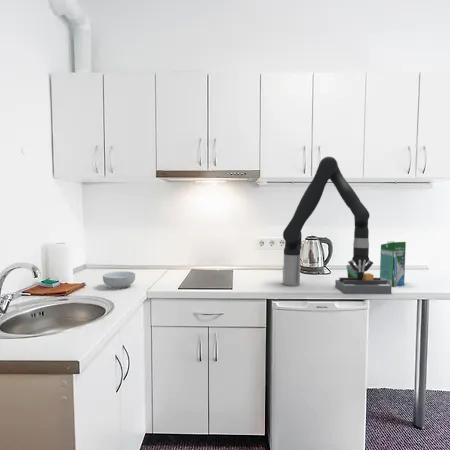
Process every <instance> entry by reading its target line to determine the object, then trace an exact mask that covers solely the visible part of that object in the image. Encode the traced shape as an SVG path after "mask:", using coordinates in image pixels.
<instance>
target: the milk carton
mask: <svg viewBox="0 0 450 450" xmlns="http://www.w3.org/2000/svg"><path fill="white" fill-rule="evenodd" d="M406 243H407V242H406V241H395V240H391V241H387V242H386V243H382V244H380V262H379V263H380V264H379V265H380V266H379V278H381V280H386V281H387V284H388V285H390V286H392V287H402V286H405V272H406V249H407V248H406V247H407V245H406Z"/></svg>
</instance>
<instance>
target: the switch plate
mask: <svg viewBox="0 0 450 450" xmlns="http://www.w3.org/2000/svg"><path fill="white" fill-rule="evenodd" d="M334 283H335V285H334V287H335V288H336V289H337V290H338V291H340V292H341V291H342V293H343V294H346V295H349V294H350V295H351V294H352V295H353V294H354V295H358V294H359V295H379V294H380V295H391V294H392V286H390V285H388V284H387V281H386V280H381V278H380V277H373V280H362V279H358V278H348V277H339V279H335V282H334Z"/></svg>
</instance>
